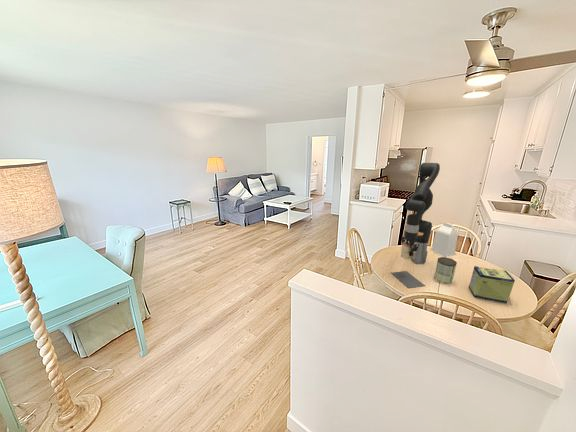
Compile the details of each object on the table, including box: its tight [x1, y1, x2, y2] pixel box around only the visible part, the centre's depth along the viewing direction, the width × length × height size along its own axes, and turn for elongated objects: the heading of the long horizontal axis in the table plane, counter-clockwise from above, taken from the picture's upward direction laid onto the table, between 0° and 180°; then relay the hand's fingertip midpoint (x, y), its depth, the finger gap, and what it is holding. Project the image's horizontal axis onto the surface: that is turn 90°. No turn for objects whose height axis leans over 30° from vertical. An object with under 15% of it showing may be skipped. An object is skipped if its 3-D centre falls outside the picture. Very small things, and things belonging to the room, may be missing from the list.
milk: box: [430, 222, 459, 258], centre depth 180 cm, size 12×12×26 cm
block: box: [400, 242, 416, 261], centre depth 147 cm, size 7×4×10 cm, turn 102°
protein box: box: [468, 265, 516, 304], centre depth 130 cm, size 10×16×16 cm
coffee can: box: [433, 256, 458, 285], centre depth 146 cm, size 10×10×14 cm
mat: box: [391, 270, 426, 289], centre depth 149 cm, size 12×18×1 cm, turn 10°
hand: (407, 254), depth 148 cm, fingers closed on block, 4 cm apart
